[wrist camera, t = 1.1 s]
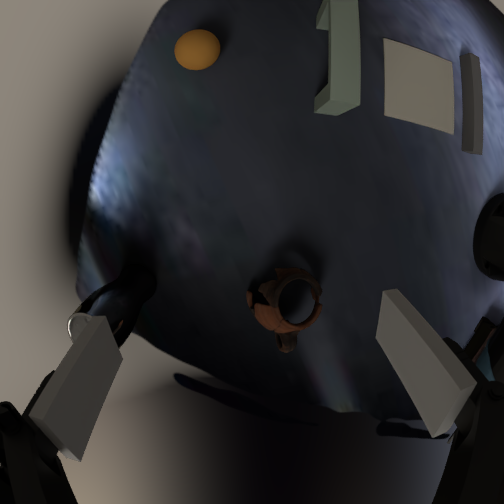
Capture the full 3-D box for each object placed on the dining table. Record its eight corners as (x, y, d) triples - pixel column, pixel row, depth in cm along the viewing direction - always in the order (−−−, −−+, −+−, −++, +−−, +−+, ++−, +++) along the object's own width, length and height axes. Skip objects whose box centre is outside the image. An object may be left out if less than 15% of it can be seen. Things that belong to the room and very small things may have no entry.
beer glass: (167, 295, 41) (128, 359, 27) (131, 306, 42) (87, 365, 28) (146, 254, 39) (94, 305, 25) (111, 268, 40) (56, 317, 26)
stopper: (468, 60, 26) (479, 57, 24) (470, 153, 32) (482, 154, 29) (459, 56, 27) (470, 52, 24) (461, 150, 32) (473, 151, 29)
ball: (224, 38, 29) (218, 21, 24) (221, 74, 31) (214, 61, 26) (183, 40, 29) (171, 25, 24) (179, 75, 31) (166, 64, 26)
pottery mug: (235, 272, 40) (258, 276, 33) (294, 258, 44) (325, 258, 36) (251, 350, 41) (276, 369, 33) (305, 331, 44) (337, 344, 37)
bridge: (338, 20, 27) (356, -10, 19) (337, 115, 32) (360, 104, 23) (316, 17, 27) (329, -16, 19) (314, 112, 32) (330, 99, 23)
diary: (486, 387, 49) (494, 399, 45) (433, 382, 48) (442, 397, 43) (526, 330, 43) (536, 341, 38) (483, 311, 41) (496, 324, 37)
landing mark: (451, 62, 27) (451, 62, 27) (452, 134, 31) (453, 134, 31) (383, 38, 28) (383, 37, 27) (383, 115, 32) (384, 115, 31)
